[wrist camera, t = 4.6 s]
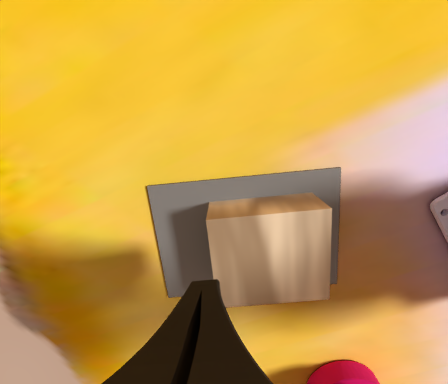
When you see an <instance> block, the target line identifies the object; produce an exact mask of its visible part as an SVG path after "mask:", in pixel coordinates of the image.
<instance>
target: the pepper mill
mask: <svg viewBox="0 0 448 384" xmlns="http://www.w3.org/2000/svg"><path fill="white" fill-rule="evenodd" d="M307 384H380V383H379V382H378V380H377V378H376V377H375V375H374V374H373V372H372V371H371V370H370V369H369V368H368V367H366V366H365V365H363V364H361V363H358V362H355V361H348V360H343V361H335V362H331V363H328V364H326V365H323V366H321V367H320V368H319V369H317V370H316V371H315V372H314V373H312V375H311V376H310V378H309V379H308V382H307Z"/></svg>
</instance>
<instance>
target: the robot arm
mask: <svg viewBox="0 0 448 384" xmlns="http://www.w3.org/2000/svg"><path fill="white" fill-rule="evenodd" d="M430 209H431V211H432V213H433V215H434V217H435V219H436V221H437V223H438V225H439V227H440V229H441V231H442V233H443V235H444V237H445V239H446V241H447V243H448V192H447V193H445V194H443V195H441V196H440V197H438V198H436V199H435V200H433V201H432V202H431V204H430ZM442 210H443V212H442V213H441V211H442ZM102 384H273V383H272V382H271V381H270V380H269V378H268V377H267V376H266V375H265V373H264V372H263V371H262V370H261V368H260V367H259V366H258V364H257V363H256V361H255V360H254V359H253V357H252V356H251V354H250V353H249V352H248V350H247V349H246V347H245V345H244V344H243V342H242V341H241V339H240V337H239V335H238V334H237V332H236V330H235V328H234V326H233V324H232V322H231V320H230V318H229V315H228V313H227V311H226V308H225V305H224V303H223V300H222V296H221V290H220V282H219V280H217V279H213V280H201V281H192V282H191V283H190V285H189V287H188V288H187V290H186V291H185V293H184V295H183V296H182V298H181V299H180V301H179V302H178V304H177V305H176V307H175V308H174V309H173V311H172V312H171V314H170V315H169V316H168V318H167V319H166V320H165V322H164V323H163V324H162V325H161V327H160V328H159V329H158V330H157V332H156V333H155V334H154V335H153V336H152V337H151V338H150V340H149V341H148V342H147V343H146V344H145V345H144V346H143V347H142V348H141V349H140V350H139V351H138V352H137V353H136V354H135V355H134V356H133V357H132V358H131V359H130V360H129V361H128V362H127V363H126V364H125V365H123V366H122V367H121V368H120V369H119V370H118V371H116V372H115V373H114V374H113V375H112V376H111V377H109V378H108V379H107V380H106V381H104V382H103V383H102Z"/></svg>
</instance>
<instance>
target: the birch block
mask: <svg viewBox="0 0 448 384" xmlns="http://www.w3.org/2000/svg"><path fill="white" fill-rule="evenodd" d="M206 225H207V232H208V240H209V248H210V255H211V263H212V271H213V279H217V280H219V282H220V290H221V296H222V300H223V303H224V305H225V308H227V307H239V306H252V305H264V304H277V303H289V302H302V301H314V300H327V299H330V266H331V228H332V208H331V207H330V206H328V205H327V204H326V203H324V202H323V201H322V200H321V199H319V198H318V197H317V196H316V195H314V194H313V193H312V192H311V193H300V194H289V195H279V196H268V197H257V198H247V199H236V200H225V201H214V202H209V207H208V212H207V217H206Z"/></svg>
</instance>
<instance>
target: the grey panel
mask: <svg viewBox="0 0 448 384" xmlns="http://www.w3.org/2000/svg"><path fill="white" fill-rule="evenodd" d="M340 183H341V167H336V168H326V169H315V170H305V171H294V172H284V173H274V174H263V175H253V176H242V177H232V178H222V179H211V180H201V181H191V182H180V183H170V184H159V185H149V186H147V189H148V194H149V199H150V204H151V210H152V215H153V220H154V225H155V230H156V235H157V241H158V246H159V251H160V256H161V261H162V266H163V271H164V277H165V282H166V287H167V292H168V297H169V298H170V297H182V296H183V295H184V293H185V291H186V290H187V288H188V287H189V285H190V283H191V282H192V281H201V280H213V271H212V263H211V255H210V248H209V240H208V232H207V225H206V217H207V212H208V207H209V202H214V201H225V200H236V199H247V198H257V197H268V196H279V195H289V194H300V193H311V192H312V193H313V194H314V195H316V196H317V197H318V198H319V199H321V200H322V201H323V202H324V203H326V204H327V205H328V206H330V207H331V208H332V228H331V266H330V284H337V267H338V239H339V211H340Z"/></svg>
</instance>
